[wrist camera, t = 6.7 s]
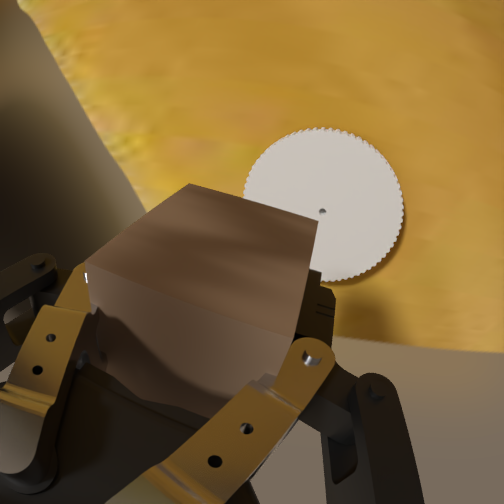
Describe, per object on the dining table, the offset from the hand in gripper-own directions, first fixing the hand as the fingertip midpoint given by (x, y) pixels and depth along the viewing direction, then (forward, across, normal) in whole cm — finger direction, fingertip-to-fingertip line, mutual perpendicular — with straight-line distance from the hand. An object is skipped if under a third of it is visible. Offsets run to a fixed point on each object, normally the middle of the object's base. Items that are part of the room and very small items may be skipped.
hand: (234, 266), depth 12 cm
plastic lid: (+18, -3, +3) cm, 19 cm away
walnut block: (+1, 0, 0) cm, 1 cm away
